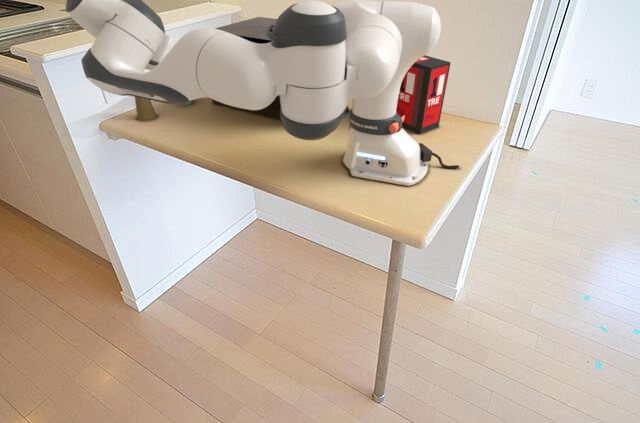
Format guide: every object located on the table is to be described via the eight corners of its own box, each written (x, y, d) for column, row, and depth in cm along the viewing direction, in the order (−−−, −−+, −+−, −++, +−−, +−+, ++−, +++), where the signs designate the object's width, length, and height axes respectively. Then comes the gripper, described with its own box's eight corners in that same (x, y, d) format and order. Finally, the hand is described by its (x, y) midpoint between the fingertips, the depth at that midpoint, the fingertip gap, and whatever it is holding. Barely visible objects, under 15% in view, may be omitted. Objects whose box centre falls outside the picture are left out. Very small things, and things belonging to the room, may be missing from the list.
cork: (150, 121, 130) (142, 88, 124) (133, 120, 131) (124, 86, 125) (160, 114, 135) (152, 82, 129) (144, 113, 136) (135, 80, 130)
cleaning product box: (438, 126, 128) (450, 62, 116) (420, 134, 123) (431, 67, 112) (399, 111, 138) (407, 50, 127) (381, 117, 134) (387, 55, 122)
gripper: (103, 51, 94) (147, 81, 107) (165, 64, 86) (204, 95, 98) (114, 27, 95) (156, 60, 107) (176, 37, 86) (214, 72, 99)
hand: (180, 77), depth 103 cm, fingers closed
